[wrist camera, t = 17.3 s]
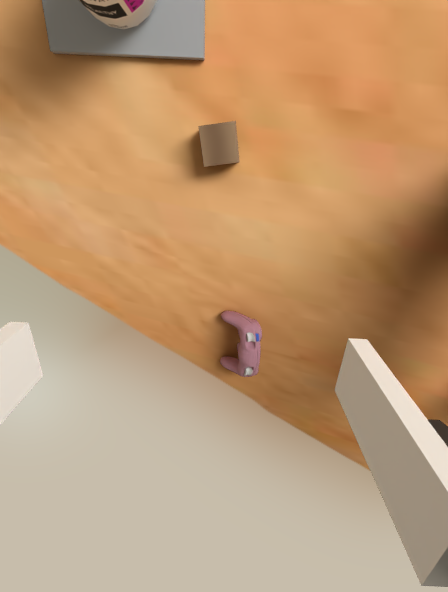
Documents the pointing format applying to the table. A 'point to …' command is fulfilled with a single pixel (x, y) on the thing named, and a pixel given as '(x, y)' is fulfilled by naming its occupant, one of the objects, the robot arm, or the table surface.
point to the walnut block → (219, 143)
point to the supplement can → (120, 11)
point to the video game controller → (244, 344)
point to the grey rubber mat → (128, 31)
